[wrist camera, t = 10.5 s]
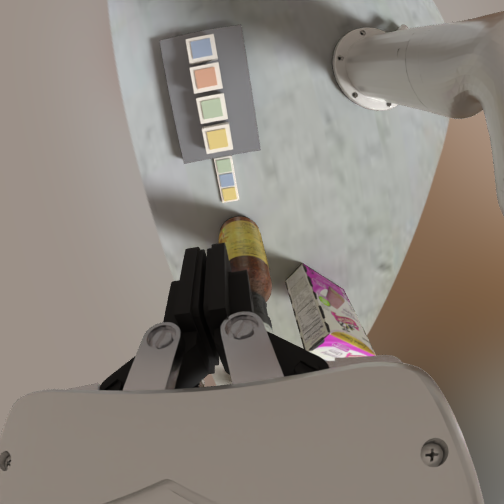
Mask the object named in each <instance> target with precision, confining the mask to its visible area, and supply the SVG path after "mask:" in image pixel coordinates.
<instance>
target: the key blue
mask: <svg viewBox="0 0 504 504" xmlns="http://www.w3.org/2000/svg"><path fill="white" fill-rule="evenodd" d="M186 45H187V51H188V57H189V63H190V64H191V65H194V64H199V63H204V62H209V61H215V60H218V56H217V50H216V44H215V38H214V34H210V35H204V36H199V37H194V38H190V39H186Z"/></svg>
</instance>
